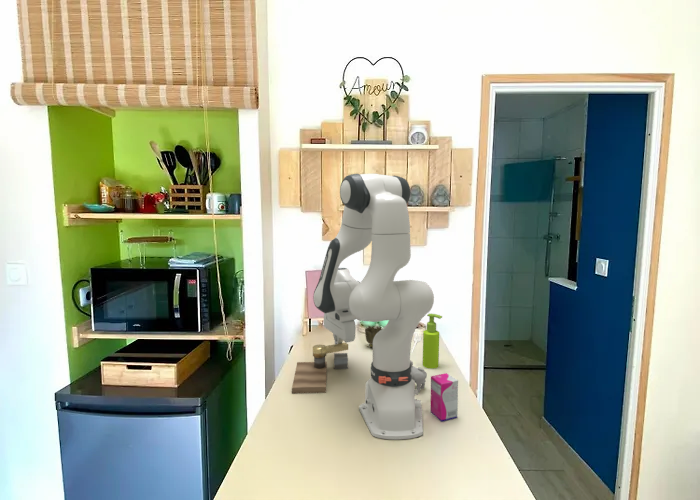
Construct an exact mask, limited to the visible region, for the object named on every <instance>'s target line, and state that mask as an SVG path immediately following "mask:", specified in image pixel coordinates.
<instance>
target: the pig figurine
mask: <svg viewBox="0 0 700 500" xmlns="http://www.w3.org/2000/svg"><path fill="white" fill-rule="evenodd" d="M410 364H411V368H412V379H413V380H414V381H415V385H416V389H415V390H418V394H419V393H420V392H421V390H423V389H424V390H425V387H426V382H427V381H426V379H427V371H425V369H424V368H422V367H420V366H418V367H416V366H414V365H413V364H414V363H413V361H412V360H411V359H410Z"/></svg>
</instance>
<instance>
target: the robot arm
mask: <svg viewBox="0 0 700 500" xmlns="http://www.w3.org/2000/svg"><path fill="white" fill-rule="evenodd" d="M410 187H411V186H410V184H409V182H408V180H407V179H406V178H404V177H402V176H398V175H387V174H380V173H360V174H359V173H352V174H348V175H346V176H345V177H344V178H343V179H342V181H341V184H340V186H339V197H340V200H341V203H342V204H343V205H344V208H343V211H342V217H341V225H340V228H339V231H338V233H337V235H336V236H335V237H334V238H333V239H332V240H331V241H330V242H329V244H328V247H327V250H326V254H325V255H324V256H325V257H324V260H323V264H322V268H321V271H320V275H319V279H318V282H317V284H316V287H315V289H314V291H313V296H312V297H313V298H312V299H313V303H314V306H315V307H316V309H318V310H319V311H320V312H321V313H323V327H324V328H325V329H326V330H328V331H329V332H331V333H332V336H333V340H334V344H340V343H345V342H346V343H351V342H355V339H356V321H355V320H357V321H361V322H369V323H371V322H372V323H375V322H376V323H377V322H382V321H383V322H385V321H387V324H385V326H384V327H383V328H381V329H382V330H380V331H379V332H378V333H377V334H376V335H375V337H374V339H373V348H372V361H371V364H370V377H369V379H368V380H367V381H366V382H365V394H364V395H365V398H364V399H365V400H364V402H363V403H361V404H360V405H359V407H358V410H359V412H360V415H361V416H362V418H363V420H364V422H365V424H366V427H367V428H368V430H369V432H370V434H371V435H372V436H373V437H375V438H378V439H384V440H408V439H410V440H411V439H414V438H417V437H421V436H423V435H424V423H423V421H424V420H423V407H422V406H423V405H422V402H421V401H422V400H421V399H416V397H415V395H418V394H419V393H418V390H416V389H415V388H416V387H415V386H416V383H415V381H414V380H413V379H412V368H411V364H410V360H411V351H412V339H413V338H414V334H415V331H416V329H417V327H418V325H419V323H420V322H421V321H422V319H423V318H424V317H425V316H426V315H428V314H429V313H430V311H431V310H432V308H433V306H434V302H435V301H434V298H435V297H434V292H433V290H432V288H431V286H430V285H429V284H428V283H427V282H425V281H422V280H413V279H405V280H397V281H396V280H395V278H396V277H395V276H396V275H397V273H398V272H399V271H400V270H401V269H403V268H404V267H405V266H407V265H408V264H409V262H410V260H411V255H412V254H411V253H412V252H411V250H412V249H411V221H410V214H409V209H408V205H407V204H408V203H409V201H410V197H411V188H410ZM370 244H371V256H370V263H369V266H368V270H367V272H366V274H365V275H364V276H363V278H362V279H361V281H360V280H356V279H355V278H354V277H353V276H352V275H351V273H350V270H349V268H346V267H340V265H341V263H342V262H343V261H344V260H345V259H348V258H349V257H350V256H352V255H354V254H356V253H358V252H359V253H360V252H361V251H362V250H364V249H366V248H367V247H368V246H369V245H370Z"/></svg>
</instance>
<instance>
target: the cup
mask: <svg viewBox="0 0 700 500" xmlns="http://www.w3.org/2000/svg"><path fill="white" fill-rule="evenodd" d="M382 329H383V328H382V327H381V326H380V327H379V326H378V325H377V326H376V327H375V326H373V325H372V326H368V327H365V328H364V334H365V340H366V342H367V344H369V345H368V346H369V347H370V349H371V348H372V349H373V339H374V337H375V335H376V334H377V333H378V332H379V331H380V330H382Z"/></svg>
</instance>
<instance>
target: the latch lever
mask: <svg viewBox="0 0 700 500" xmlns="http://www.w3.org/2000/svg"><path fill="white" fill-rule="evenodd" d="M348 350H349V344H348V342H345V341H344V342H342V343H340V344H335V343H334V344H329V345H325V344H315V345H313V346H312V357H313V358H314V357H316V358H322V357H325V358H326V357H327V354H332V353H333V354H334V353H340V352H344V351H348Z"/></svg>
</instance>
